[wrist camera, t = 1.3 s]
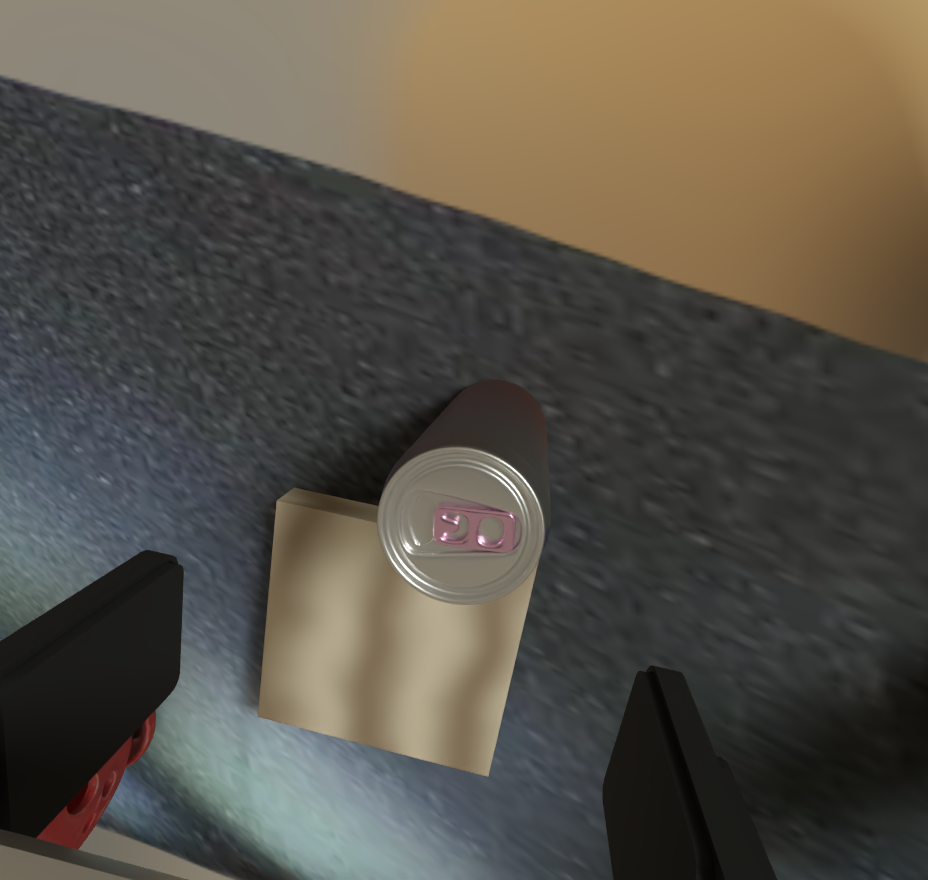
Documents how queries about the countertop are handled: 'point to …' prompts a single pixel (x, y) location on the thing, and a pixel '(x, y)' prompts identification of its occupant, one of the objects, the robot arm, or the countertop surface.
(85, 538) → the countertop surface
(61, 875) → the robot arm
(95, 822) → the plant pot
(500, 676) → the birch board
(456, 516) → the beverage can
